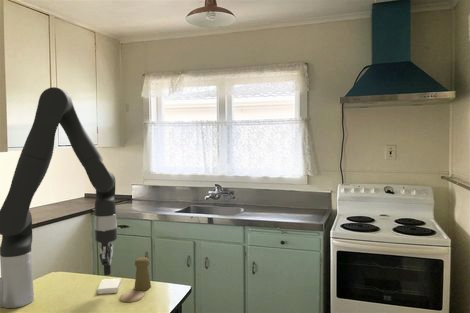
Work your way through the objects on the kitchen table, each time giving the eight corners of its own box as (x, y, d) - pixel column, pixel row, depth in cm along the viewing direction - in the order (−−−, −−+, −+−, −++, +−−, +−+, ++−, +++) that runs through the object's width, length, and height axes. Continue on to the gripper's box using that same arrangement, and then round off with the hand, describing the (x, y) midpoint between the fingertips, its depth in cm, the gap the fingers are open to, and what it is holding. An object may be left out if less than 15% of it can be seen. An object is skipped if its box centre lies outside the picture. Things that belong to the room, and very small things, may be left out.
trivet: (118, 303, 125) (118, 301, 125) (121, 293, 133) (121, 291, 133) (142, 301, 126) (142, 299, 126) (144, 291, 134) (144, 289, 134)
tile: (97, 289, 132) (102, 279, 141) (97, 294, 132) (102, 284, 141) (117, 287, 133) (121, 278, 142) (117, 293, 134) (121, 283, 142)
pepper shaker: (146, 291, 134) (145, 261, 134) (131, 290, 135) (130, 260, 135) (153, 284, 140) (152, 255, 139) (138, 283, 141) (138, 255, 141)
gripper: (98, 223, 138) (100, 268, 139) (90, 232, 125) (92, 282, 126) (119, 222, 140) (121, 267, 141) (113, 231, 127) (115, 280, 128)
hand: (107, 274), depth 134 cm, fingers closed
